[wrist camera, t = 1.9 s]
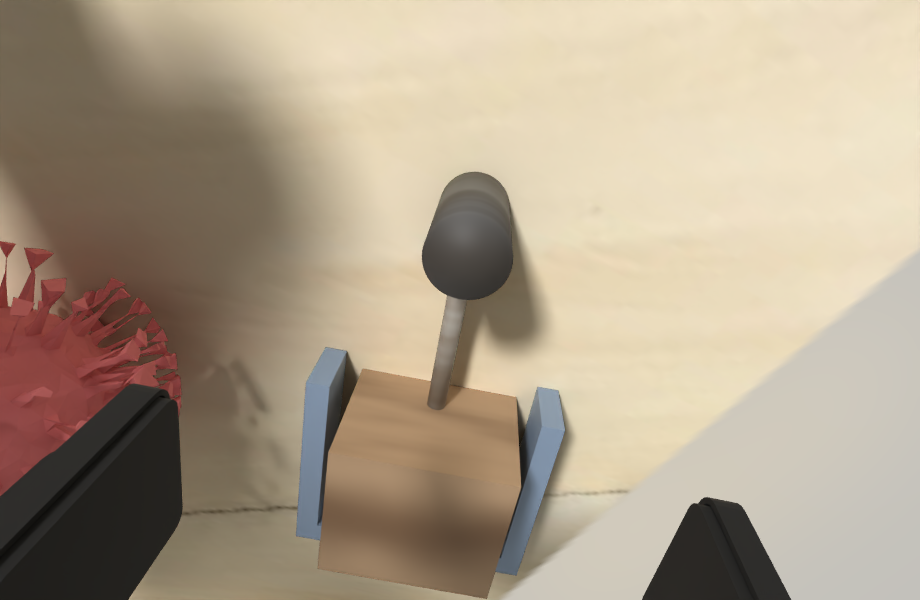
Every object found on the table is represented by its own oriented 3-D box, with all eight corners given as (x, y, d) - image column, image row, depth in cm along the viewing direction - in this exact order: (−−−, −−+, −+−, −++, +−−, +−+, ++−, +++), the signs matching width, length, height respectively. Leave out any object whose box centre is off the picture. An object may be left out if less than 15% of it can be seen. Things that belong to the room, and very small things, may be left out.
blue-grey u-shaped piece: (514, 528, 36) (516, 575, 33) (313, 491, 35) (296, 535, 32) (558, 390, 31) (565, 430, 28) (325, 347, 31) (306, 382, 27)
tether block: (488, 497, 35) (486, 598, 28) (350, 472, 35) (317, 568, 28) (573, 190, 26) (598, 239, 20) (388, 154, 26) (352, 191, 19)
